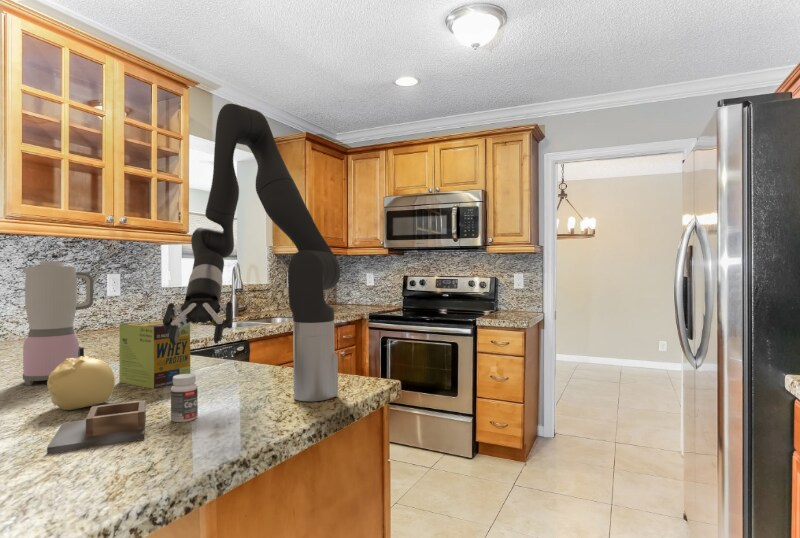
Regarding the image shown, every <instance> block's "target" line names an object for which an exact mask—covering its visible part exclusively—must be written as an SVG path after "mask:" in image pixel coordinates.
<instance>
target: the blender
mask: <svg viewBox="0 0 800 538" xmlns="http://www.w3.org/2000/svg"><path fill="white" fill-rule="evenodd" d="M21 269H22V270H24V271H25V279H24V305H25V312H26V316H27V320H28V321H27V322H28V326H29V331H28V335H27V336H26V338H25V340H24V343H23V347H22V348H23V350H22V363H23V364H22V365H23V367H22V369H23V374H22V380H23V381H24V384H25V386H32V385H33V383H34V382H38V381H39V382H40V381H48V379H49V375H50V374H51V372H53V371H54V370H55V368H56V367H57V366H59V365H60V364H61V363H63V362H64V361H65V360H66V359H69V358H74V359H76V358H79V357H80V356H83V357H84V356H85V354H84V353H85V348H84V347H81V346H80V343H81V341H80V339H79V337H78V335H77V333H76V332H75V329H74V324H75V323H74V322H75V317H76V311H78V310H79V311H80V310H84V309H85V310H87V309H89V308H91V307H92V306H93V304H94V295H95V292H94V290H95V288H94V277H93V276H92V275H91V274H89V273H88V272H83V271H77V268H76V266H69V265H68V266H64V261H53V260H51V261H40V262H39V266H27V267H22V268H21ZM78 279H83V280H85V281H86V282H85V283H86V284H85V285H86V289H85V291H86V292H85V302H80V303H78Z"/></svg>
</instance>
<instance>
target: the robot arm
mask: <svg viewBox="0 0 800 538" xmlns="http://www.w3.org/2000/svg"><path fill="white" fill-rule="evenodd" d="M237 144H239V145H243V146H247V147H248V148H249V150H250V151H251V152H252V155H253V157H254V159H255V161H256V164H257V172H256V176H255V191H256V195H257V197H258V199H259V201H260V204H261V205H262V207H263V209H264V211H265V213H266V215H267V216H268V217H269V219H270V220H271V221H272V222H273V223H274V225H276V226H277V227H278V229H280V230H281V231H282V232H283V233H284V234H285V235H286V236H287V237H288V238H289V239H290V240H291V241H292V243H293V244H294V246H295V247H296V250H297V252H295V253H294V254H293V256H292V257H291V259H290V260H289V263H288V267H287V269H288V270H287V287H288V288H287V289H288V303H289V308H290V311H291V314H292V321H293V322H292V324H293V325H292V328H293V329H292V331H293V332H292V335H293V337H292V338H293V339H292V340H293V341H292V342H293V343H292V344H293V345H292V346H293V347H292V348H293V352H292V353H293V355H292V356H293V358H292V359H293V399H294V400H296V401H300V402H322V401H326V400H330V399H333V398H335V397H339V376H338V375H339V368H338V367H339V363H338V362H339V360H338V359H339V358H338V354H337V353H335V309H334V308H333V307H332V306H330V305H329V304H328V303H327V302H326V300H325V294H324V293H325V292H324V291H327V290H330V289H333V288H334V287H335V286H337V284H338V283H339V280H340V279H341V278H340V277H341V267H340V264H339V261H338V259H337V257H336V256H335V254H334V252H333V250H332V249H331V248H330V246H329V245H328V243H327V241H326V239H324V236H323V235H322V234H321V232H320V231H319V229H318V227H317V225H316V223H315V221H314V219H313V217H312V215H311V213H310V211H309V208H308V207H307V205H306V203H305V202H304V199H303V197H302V195H301V193H300V190H299V189H298V187H297V185H296V182H295V181H294V179H293V177H292V175H291V174H290V171H289V169H288V167H287V165H286V163H285V161H284V159H283V157H282V155H281V153H280V151H279V148H278V146H277V143H276V141H275V138H274V134H273V132H272V130H271V127H270V124H269V122H268V120H267V118H266V117H265V115H264V114H263V112H261V111H259V110H257V109H255V108H252V107H249V106H245V105H242V104H238V103H234V102H228V103H225V104H224V105H223V106H222V107H221V109H219V112H218V115H217V119H216V125H215V137H214V148H213V149H214V152H213V154H214V155H213V172H212V179H211V186H210V191H209V195H208V199H207V204H206V209H205V215H204V216H205V217H206V219H208V220H209V221H211V222H213V223H215V224H218V226H220V227H221V228H222V230H220V229H214V228H210V227H206V226H201V227H197V228H196V229H195V230H194V231H193V233H192V235H191V240H190V241H191V242H190V243H191V249H192V254H193V259H194V260H193V264H192V270H191V274H190V276H189V278H188V284H187V287H186V288H187V289H186V293H185V297H184V302H183V304H182V305H175V303H173V302H170V303H168V305H167V308H166V311H165V314H164V316H163V319H162V321H163V325H164V328H165V330H170V333H169V340H170V343H172V345H177V340H178V335H179V330H180V329H182V328H183V327H186V326H187V325H188V324H190V325H191V323H192V324H198V323H199V324H200V323H201V324H202V323H203V324H207V323H208V322H210V324H212V326H214V334H213V343H214V344H215V345H216V344H219V342H222V340H223V333H224V330H225V329H232V328H233V325H234V324H233V321H234V320H233V319H234V314H233V313H234V308H233V303H232V302H231V301H227V302H226V304H220V300H221V294H222V291H223V273H224V266H225V261H224V259H226V258H228V257H230V256H231V254H232V253H233V251H234V248H235V238H234V236H235V235H234V221H235V220H234V219H235V214H236V210H237V207H238V201H239V197H240V187H239V186H240V185H239V182H238V179H237V174H236V170H235V164H234V154H235V150H236V146H237ZM180 312H181V313H180ZM221 312H223V314H225V319H224V320H223V319H221V318H220V316H219V313H221ZM176 316H177V317H176ZM175 317H176V318H175Z"/></svg>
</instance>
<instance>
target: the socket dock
mask: <svg viewBox="0 0 800 538" xmlns="http://www.w3.org/2000/svg"><path fill="white" fill-rule="evenodd" d="M146 418H147V412H146V399H144V400H143V399H142V400H134V401H126V402H117V403H116V402H115V403H109V404H101V405H100V404H99V405H93V406H91V408H90V409H89V412H88V414H87V416H86V417H85V419H81V420H75V421H67V422H66V421H65V422H62V423H61V425H60V426H59V428H58V429H57V431H56V432H55V434H54V436H53V438H52V439H51V441H50V442H49V444H48V446H47V447H46V454H47V455H50V454H57V453H64V452H70V451H76V450H82V449H89V448H90V449H91V448H95V447H102V446H107V445H108V446H110V445H116V444H122V443H123V444H124V443H127V442H133V441H134V442H135V441H141V440H145V434H146V433H145V432H146V420H147V419H146Z"/></svg>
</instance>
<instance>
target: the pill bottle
mask: <svg viewBox="0 0 800 538" xmlns="http://www.w3.org/2000/svg"><path fill="white" fill-rule="evenodd" d="M198 389H199V388H198V385H197V383H196V374H195V373H190V374H180V375H176V376H173V386H171V388H170V420H171V422H174V423H186V422H190V421H193V420H195V419H197V418H198V414H199V413H198V412H199V411H198V408H199V403H198V396H199V395H198V393H199V392H198Z"/></svg>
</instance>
